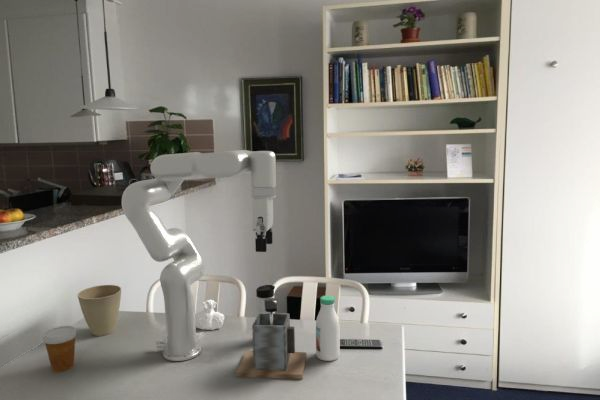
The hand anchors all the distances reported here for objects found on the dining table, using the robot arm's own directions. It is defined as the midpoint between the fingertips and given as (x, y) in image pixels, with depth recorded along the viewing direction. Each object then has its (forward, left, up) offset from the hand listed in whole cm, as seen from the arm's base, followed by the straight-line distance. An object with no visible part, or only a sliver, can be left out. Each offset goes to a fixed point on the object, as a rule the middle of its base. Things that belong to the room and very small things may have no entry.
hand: (264, 247), depth 140 cm
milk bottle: (+19, +6, -38) cm, 43 cm away
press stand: (+2, -2, -38) cm, 38 cm away
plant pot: (-66, +19, -38) cm, 79 cm away
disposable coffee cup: (-65, -7, -38) cm, 76 cm away
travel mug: (-3, +16, -38) cm, 42 cm away
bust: (-27, +26, -38) cm, 54 cm away
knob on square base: (+2, -2, -33) cm, 33 cm away
